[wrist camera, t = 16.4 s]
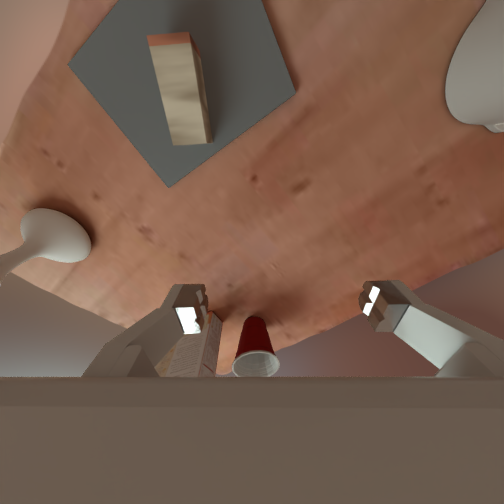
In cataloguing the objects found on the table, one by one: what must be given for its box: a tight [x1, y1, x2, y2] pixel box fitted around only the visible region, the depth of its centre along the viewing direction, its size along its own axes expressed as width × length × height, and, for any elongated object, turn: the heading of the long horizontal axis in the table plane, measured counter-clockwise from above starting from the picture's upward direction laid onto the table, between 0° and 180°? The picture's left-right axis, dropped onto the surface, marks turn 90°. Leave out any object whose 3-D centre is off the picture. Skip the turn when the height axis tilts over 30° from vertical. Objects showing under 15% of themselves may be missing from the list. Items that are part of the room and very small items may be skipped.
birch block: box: [147, 32, 213, 145], centre depth 24 cm, size 4×4×10 cm
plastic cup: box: [232, 317, 280, 377], centre depth 46 cm, size 11×11×12 cm
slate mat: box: [67, 0, 296, 188], centre depth 25 cm, size 24×18×1 cm
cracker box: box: [154, 311, 223, 377], centre depth 42 cm, size 14×6×21 cm, turn 117°
